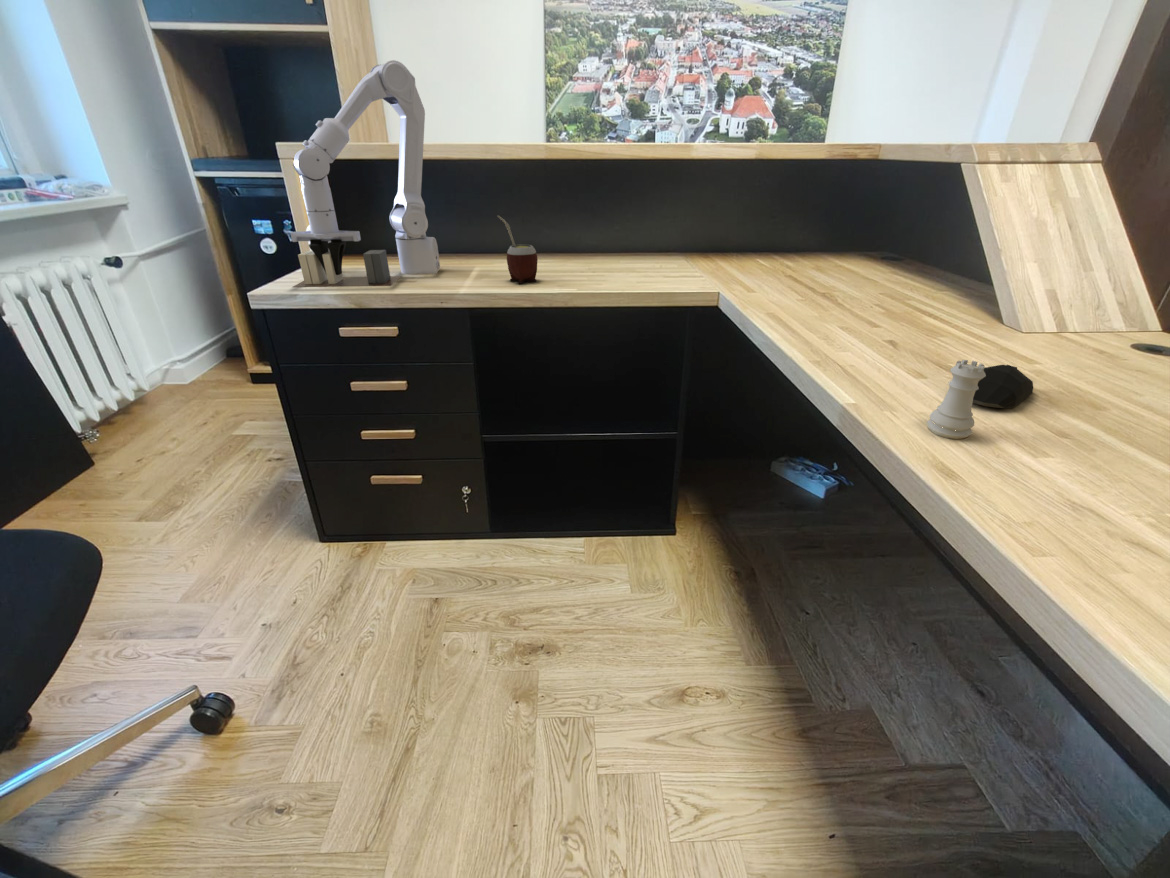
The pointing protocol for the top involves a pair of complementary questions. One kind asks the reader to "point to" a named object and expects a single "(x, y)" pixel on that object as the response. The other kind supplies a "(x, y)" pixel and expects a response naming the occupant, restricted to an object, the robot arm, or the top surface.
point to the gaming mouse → (1002, 387)
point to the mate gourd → (521, 260)
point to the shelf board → (351, 282)
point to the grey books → (376, 266)
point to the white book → (330, 269)
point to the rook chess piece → (957, 402)
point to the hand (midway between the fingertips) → (334, 274)
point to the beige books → (311, 268)
